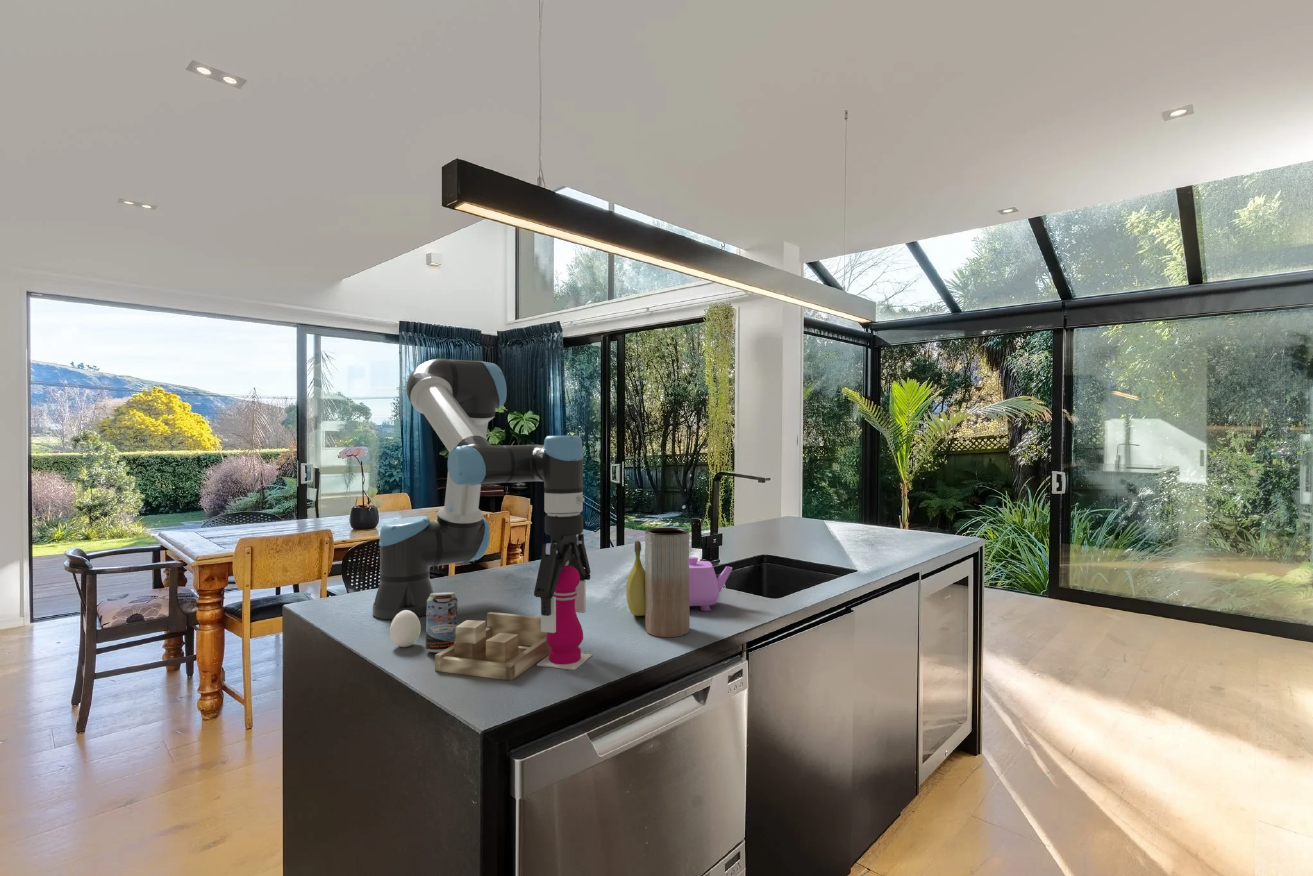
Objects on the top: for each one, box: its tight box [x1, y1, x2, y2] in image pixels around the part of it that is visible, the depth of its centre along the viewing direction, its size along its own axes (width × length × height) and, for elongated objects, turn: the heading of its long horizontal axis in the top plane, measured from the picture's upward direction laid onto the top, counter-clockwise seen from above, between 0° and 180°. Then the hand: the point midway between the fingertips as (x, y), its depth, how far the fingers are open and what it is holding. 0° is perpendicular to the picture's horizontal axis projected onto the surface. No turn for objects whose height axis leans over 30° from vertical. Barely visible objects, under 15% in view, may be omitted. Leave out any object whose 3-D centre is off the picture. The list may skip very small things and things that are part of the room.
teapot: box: [689, 556, 733, 612], centre depth 164 cm, size 20×12×13 cm, turn 90°
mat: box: [536, 652, 592, 671], centre depth 125 cm, size 8×8×1 cm
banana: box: [625, 540, 645, 617], centre depth 156 cm, size 23×6×20 cm, turn 178°
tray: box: [434, 611, 551, 681], centre depth 126 cm, size 16×19×6 cm
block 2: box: [454, 636, 487, 661], centre depth 123 cm, size 4×5×5 cm
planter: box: [644, 527, 691, 638], centre depth 143 cm, size 10×10×23 cm
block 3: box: [486, 633, 519, 663], centre depth 121 cm, size 4×5×6 cm
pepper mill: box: [546, 560, 584, 664], centre depth 125 cm, size 7×7×20 cm
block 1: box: [456, 619, 487, 644], centre depth 123 cm, size 4×5×3 cm
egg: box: [389, 610, 422, 648], centre depth 134 cm, size 6×6×8 cm
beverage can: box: [424, 591, 458, 653], centre depth 131 cm, size 6×7×12 cm
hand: (564, 621), depth 125 cm, fingers open, 13 cm apart
